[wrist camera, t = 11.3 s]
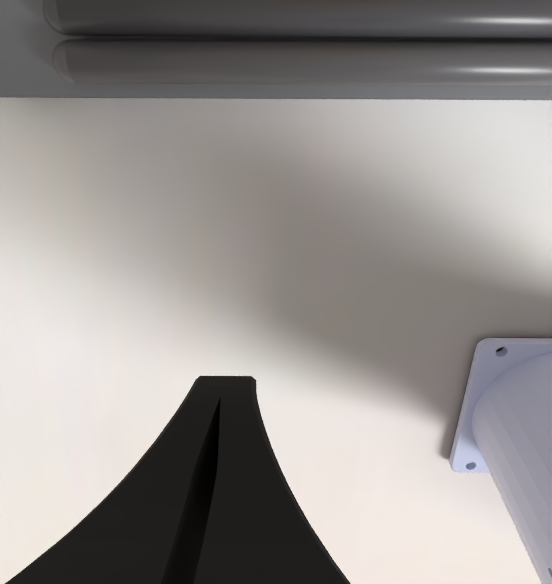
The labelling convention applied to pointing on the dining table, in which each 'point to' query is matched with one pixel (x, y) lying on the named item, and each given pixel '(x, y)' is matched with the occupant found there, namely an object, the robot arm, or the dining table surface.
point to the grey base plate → (277, 49)
